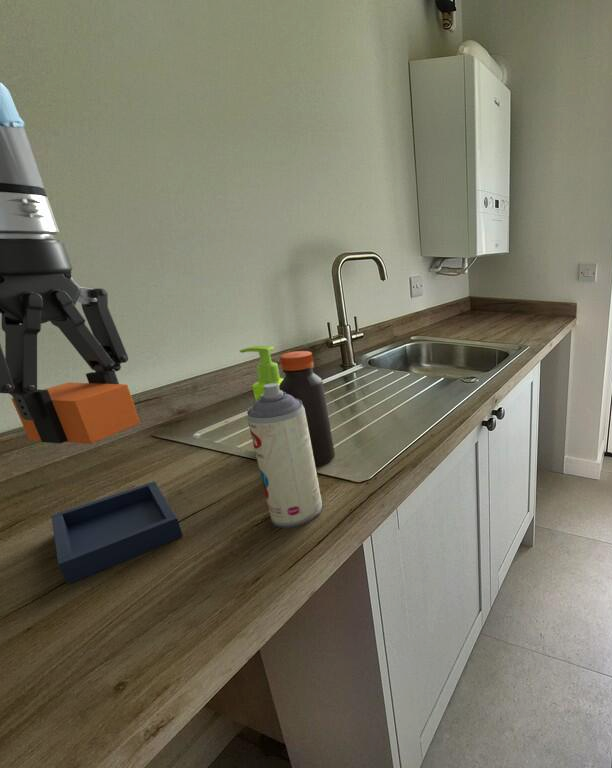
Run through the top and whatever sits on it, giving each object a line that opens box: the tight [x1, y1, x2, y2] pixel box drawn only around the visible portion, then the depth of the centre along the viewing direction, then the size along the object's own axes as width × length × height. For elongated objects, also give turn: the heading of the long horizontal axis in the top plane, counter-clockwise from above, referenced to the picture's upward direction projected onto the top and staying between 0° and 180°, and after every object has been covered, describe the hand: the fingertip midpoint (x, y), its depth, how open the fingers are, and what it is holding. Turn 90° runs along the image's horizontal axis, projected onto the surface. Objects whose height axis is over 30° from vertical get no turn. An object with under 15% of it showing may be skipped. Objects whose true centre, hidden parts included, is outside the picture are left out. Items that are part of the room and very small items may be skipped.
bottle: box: [279, 350, 335, 467], centre depth 72 cm, size 7×7×20 cm
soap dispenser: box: [239, 345, 285, 402], centre depth 77 cm, size 6×7×20 cm
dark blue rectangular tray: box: [50, 480, 184, 586], centre depth 55 cm, size 14×11×3 cm
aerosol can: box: [246, 383, 324, 529], centre depth 57 cm, size 7×7×20 cm
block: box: [11, 381, 141, 445], centre depth 51 cm, size 9×6×6 cm, turn 82°
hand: (86, 429), depth 52 cm, fingers closed on block, 6 cm apart
